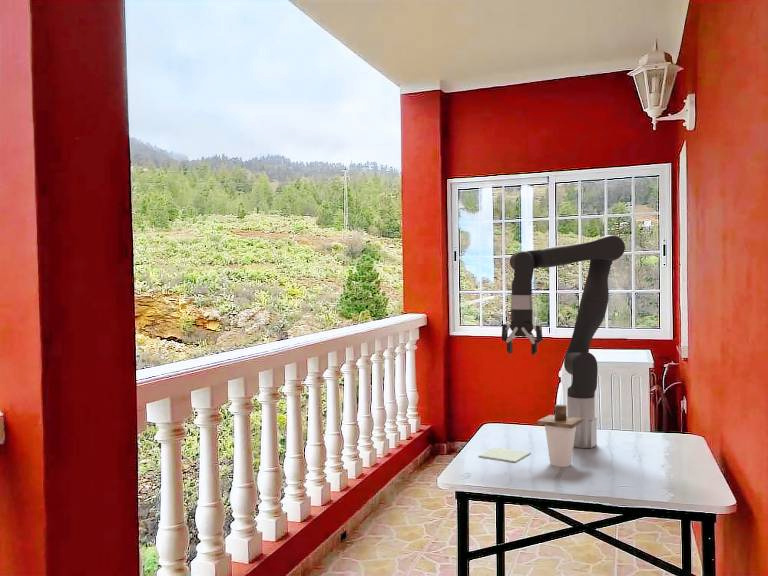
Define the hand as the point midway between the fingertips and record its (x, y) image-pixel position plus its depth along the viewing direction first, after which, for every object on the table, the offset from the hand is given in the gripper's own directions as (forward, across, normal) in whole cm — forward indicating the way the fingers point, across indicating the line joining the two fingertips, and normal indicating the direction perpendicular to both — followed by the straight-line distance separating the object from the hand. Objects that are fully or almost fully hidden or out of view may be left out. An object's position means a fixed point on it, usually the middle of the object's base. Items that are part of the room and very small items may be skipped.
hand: (521, 353), depth 233 cm
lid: (+19, -19, +16) cm, 32 cm away
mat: (+32, 0, +15) cm, 36 cm away
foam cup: (+33, -19, +16) cm, 41 cm away
